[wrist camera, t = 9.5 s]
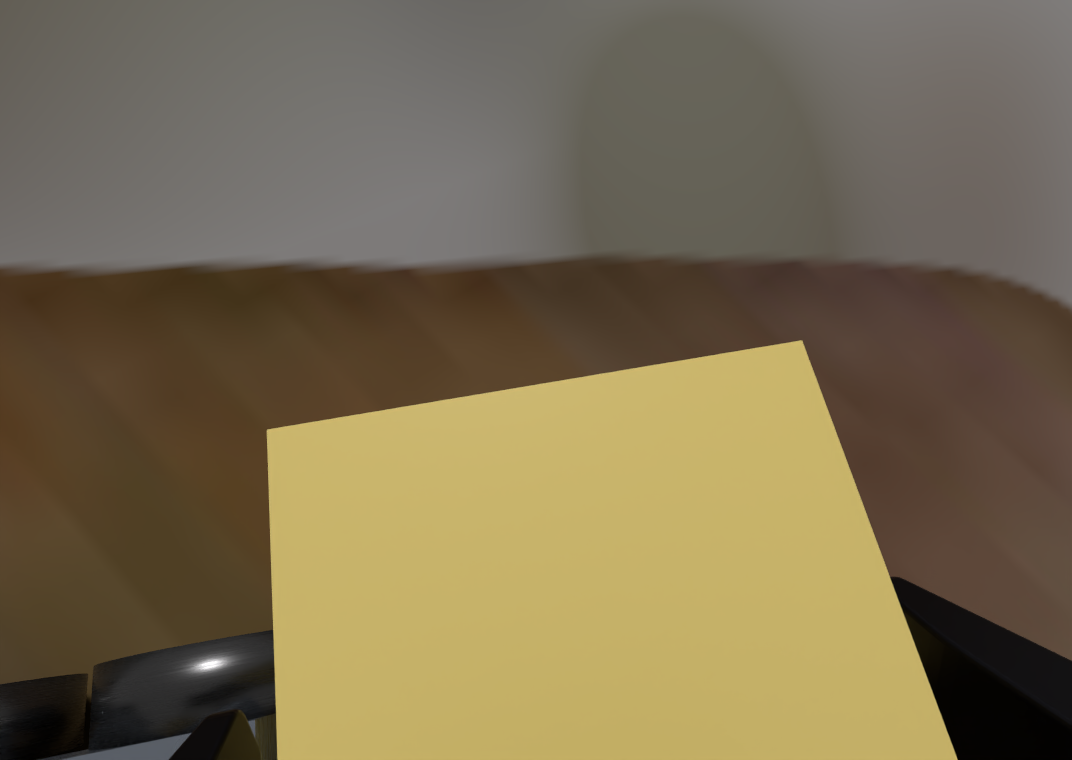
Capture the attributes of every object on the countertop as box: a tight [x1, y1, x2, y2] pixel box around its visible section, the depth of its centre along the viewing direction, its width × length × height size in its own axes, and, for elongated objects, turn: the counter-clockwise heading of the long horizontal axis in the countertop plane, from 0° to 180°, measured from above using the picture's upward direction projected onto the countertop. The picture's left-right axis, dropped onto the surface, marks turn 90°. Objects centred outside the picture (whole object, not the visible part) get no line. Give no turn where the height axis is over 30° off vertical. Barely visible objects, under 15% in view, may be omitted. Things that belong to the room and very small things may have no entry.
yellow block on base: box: [267, 341, 958, 760], centre depth 11 cm, size 5×8×12 cm, turn 101°
